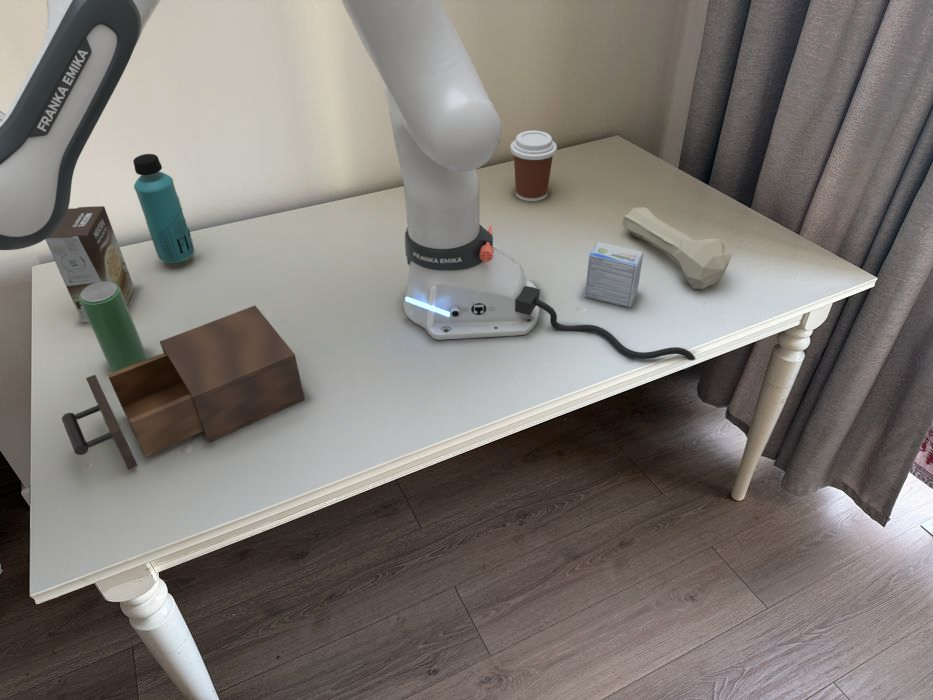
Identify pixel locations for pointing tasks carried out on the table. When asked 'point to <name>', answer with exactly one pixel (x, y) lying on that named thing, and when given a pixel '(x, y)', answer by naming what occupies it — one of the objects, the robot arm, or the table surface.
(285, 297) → the table surface
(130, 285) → the coffee box
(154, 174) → the beverage bottle
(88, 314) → the green can
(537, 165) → the coffee cup
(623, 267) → the medicine box
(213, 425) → the cabinet
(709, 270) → the faceted club
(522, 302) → the robot arm
